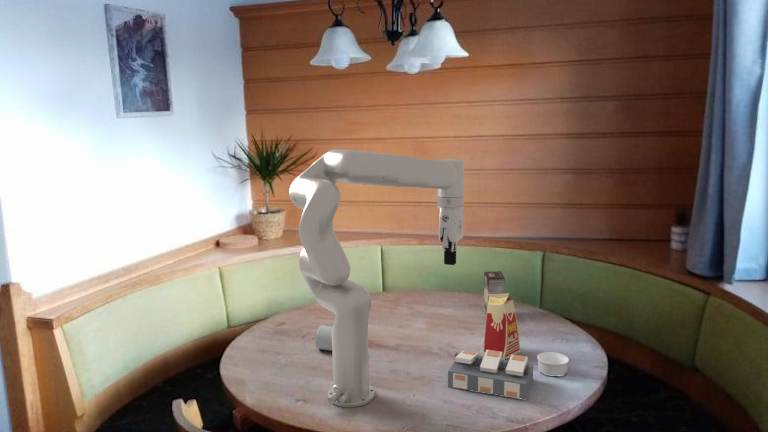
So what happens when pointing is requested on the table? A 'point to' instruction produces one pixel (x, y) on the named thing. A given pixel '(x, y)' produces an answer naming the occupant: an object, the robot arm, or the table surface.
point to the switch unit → (490, 379)
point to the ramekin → (552, 363)
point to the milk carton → (501, 326)
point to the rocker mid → (491, 361)
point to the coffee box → (492, 286)
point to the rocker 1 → (466, 357)
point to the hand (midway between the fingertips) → (450, 263)
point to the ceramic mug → (324, 338)
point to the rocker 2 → (516, 365)
